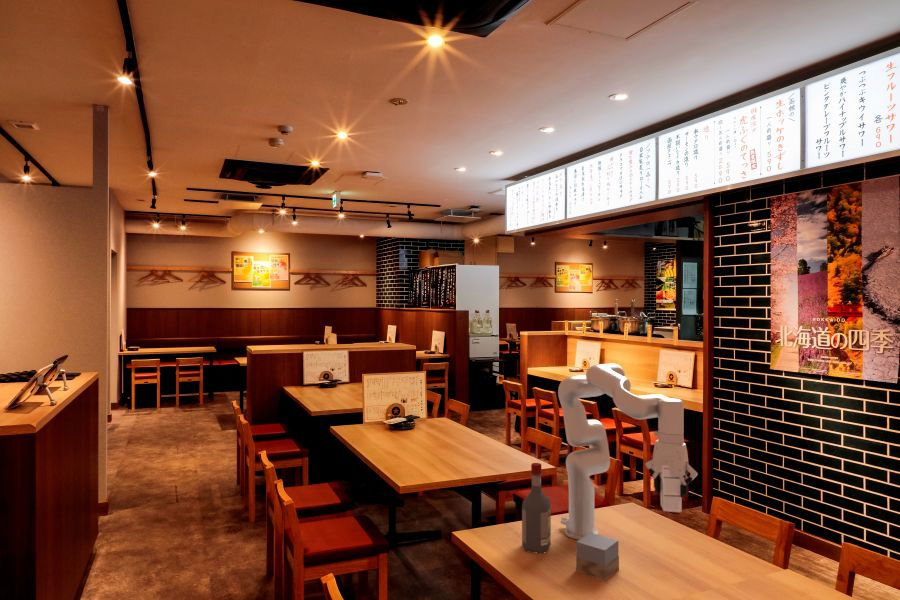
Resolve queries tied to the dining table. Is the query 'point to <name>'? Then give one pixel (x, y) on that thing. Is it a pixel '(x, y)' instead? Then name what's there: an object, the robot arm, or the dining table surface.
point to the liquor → (536, 516)
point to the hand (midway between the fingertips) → (670, 493)
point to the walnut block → (597, 568)
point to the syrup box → (670, 491)
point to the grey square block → (597, 549)
